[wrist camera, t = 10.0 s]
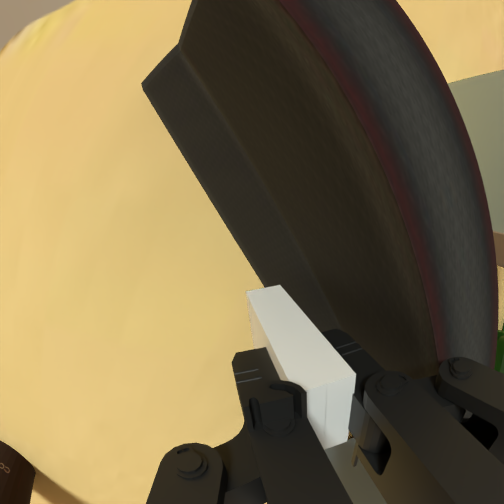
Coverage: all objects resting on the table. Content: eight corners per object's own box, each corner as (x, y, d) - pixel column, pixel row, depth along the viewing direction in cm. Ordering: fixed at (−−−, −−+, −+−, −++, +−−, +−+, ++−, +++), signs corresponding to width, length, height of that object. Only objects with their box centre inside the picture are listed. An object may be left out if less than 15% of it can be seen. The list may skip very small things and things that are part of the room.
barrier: (422, 331, 19) (511, 395, 9) (333, 399, 18) (400, 498, 9) (279, 23, 12) (359, -91, 3) (138, 87, 12) (68, -38, 2)
